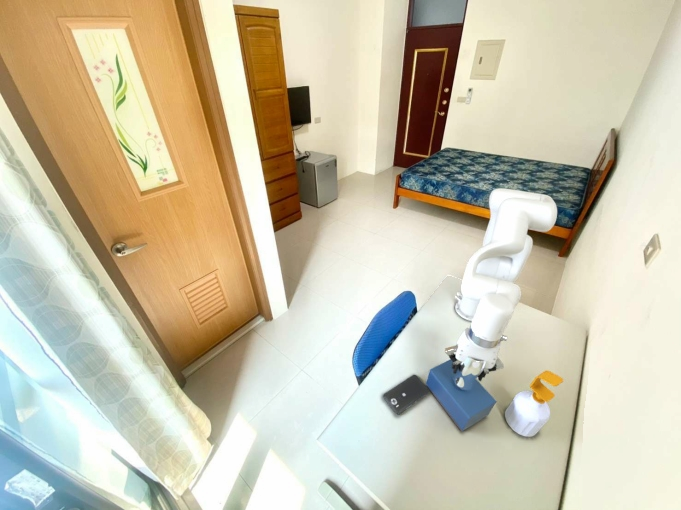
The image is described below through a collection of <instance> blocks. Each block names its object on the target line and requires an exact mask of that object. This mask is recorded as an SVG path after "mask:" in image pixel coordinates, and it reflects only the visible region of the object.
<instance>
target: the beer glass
mask: <svg viewBox="0 0 681 510" xmlns="http://www.w3.org/2000/svg"><path fill="white" fill-rule="evenodd" d="M485 363H486V361H477V360H474V359H472V358H471V357H469V356H468V357H467V359H465V360H464V361H463V362H461V363H459V368H458V371H457V372H456V373H455V374H454V376H453V380H454V383H455V384H456V386H457V387H459V388H460V389H462V390H471V389H472V388H473V387H474V382H475V379H476V380H477V379H478V376H479V375H480V374H481V373H482V372H483V371H484V369H485Z"/></svg>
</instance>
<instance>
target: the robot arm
mask: <svg viewBox="0 0 681 510" xmlns="http://www.w3.org/2000/svg"><path fill="white" fill-rule="evenodd" d="M488 207H489V211H490V218H489V221H488V224H487V227H486V230H485V233H484V236H483V239H482V246H481V247H480V248H478V249H477V250H476V251H475V252H474V253H473V254H472V255H471V256H470V258H469V259H468V261H467V263H466V266H465V270H464V273H463V277H462V281H461V286H460V291H457V292H456V295H455V296H454V298H455V299H456V300H457V302H456V303H455V307H454V309H455V312H456V314H457V315H458V316H459V317H461V318H462V319H464V320H466V321H469V322H471V323H470V325H469V327H466V328H465V329H464V330H463V331H462V333H461V334H460V336H459V338H458V339H457V341H456V345H452V346H449V347H445V348H444V352H445V354H446V355H447V356H448V358H449V360H450V359H451V360H452V361H453V363H452V369H453V373H454V374H455V373H456V372H457V370H458V368H459V363H461V362H463V361H464V360H465V359H467V357H468V356H469V357H471V358H472V359H474V360H477V361H486V363H485V369H484V371H483V372H482V373H481V374H480V375H479V376H478V377H477V381H478V382H482V381H483V378H485V377H486V375H489V374H490V372H491V373H492V372H496V371H497V370H502V369H504V368H505V366H504V365H505V364H504V362H503V361H502V360H501V359H500V357H499V353H500V349H501V342H503V341H504V342H507V340H508V336H507V335H504V333H505V331H506V329H507V327H508V326H509V323H510V321H511V319H512V317H513V316H514V313H515V309H516V306H518V304H519V302H520V300H521V297H522V291H521V287H520V286H519V285H518V284H517V283H515V282H516V281H517V280H519V278H520V276H521V275H522V273H523V270H524V268H525V266H526V263H527V261H528V259H529V257H530V255H531V252H532V249H533V244H534V240H533V238H532V237H531V236H530V235H529V234H528V230H531V231H535V232H541V233H546V232H549V231H550V230H552V229H553V228H554V226H555V224H556V221H557V216H558V207H557V204H556V202H555V201H554V199H553V197H551V196H550V195H547V194H543V193H537V192H532V191H531V192H530V191H526V190H525V191H524V190H519V189H513V188H504V187H499V188H495V189H493V190H492V191H491V192H490V194H489V198H488Z"/></svg>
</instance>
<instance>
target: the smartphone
mask: <svg viewBox="0 0 681 510" xmlns="http://www.w3.org/2000/svg"><path fill="white" fill-rule="evenodd" d="M429 393H430V390H429V388H428V387H427V385H426V383H424V382H423V381H422V380H421V378H420V377H418V376H417V374H412V375H411V376H409V377H407V378H406V379H405V380H403V381H402V382H400V383H398V384H397V385H395V386H394V387H392V388H391V389H390V390H388V391H386V392H385V393H383V396H382V397H383V399H384V400H385V402H386V403H387V404H388V406H389V407H390V408H391V410H392V411H393V413H394V414H395V415H396V416H397V415H400V414H402V413H403V412H404V411H406V410H407V409H409V408H410V407H411V406H412V405H414V404H415V403H417V402H419V400H421V399H422V398H424V397H425V396H426V395H428V394H429Z"/></svg>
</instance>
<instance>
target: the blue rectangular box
mask: <svg viewBox="0 0 681 510" xmlns="http://www.w3.org/2000/svg"><path fill="white" fill-rule="evenodd" d="M452 363H453V361H452V360H451V359H450V358H449V359H448V360H446V361H444V362H442V363H440V364H438V365H436V366H434V367H432V368H430V369H429V371H428V375H427V379H426V381H425V385H426V387H427V388H428V389H429V392H430V393H431V394H432V395H433V396H434V397H435V399H436V400H437V402H438V403H439V404H440V405H441V407H442V408H443V410H444V411H445V412H446V414H447V415H448V417H450V419H451V420H452V422H453V423H454V424H455V425H456V426H457V428H458V430H460V432H463V431H465V430H467V429H468V428H470V427H472V426H473V425H475V424H477V423H478V422H480V421H481V420H483V419H485V418H486V417H487V416H489V414H490V413H491V411H492V410H493V408H494V406H495V405H496V403H497V400H496V399H495V398H494V397H493V395H492V394H491V393H490V392H489V391H488V390H487V389H486V388H485V387H484V386H483V385H482V383H480V381H479V380H478V379H477V378H476V379H475V382H474V387H473V388H472V389H471V390H462V389H460V388H459V387H457V386H456V384H455V383H454V380H453V376H454V373H453V369H452ZM457 371H458V370H457Z"/></svg>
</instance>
